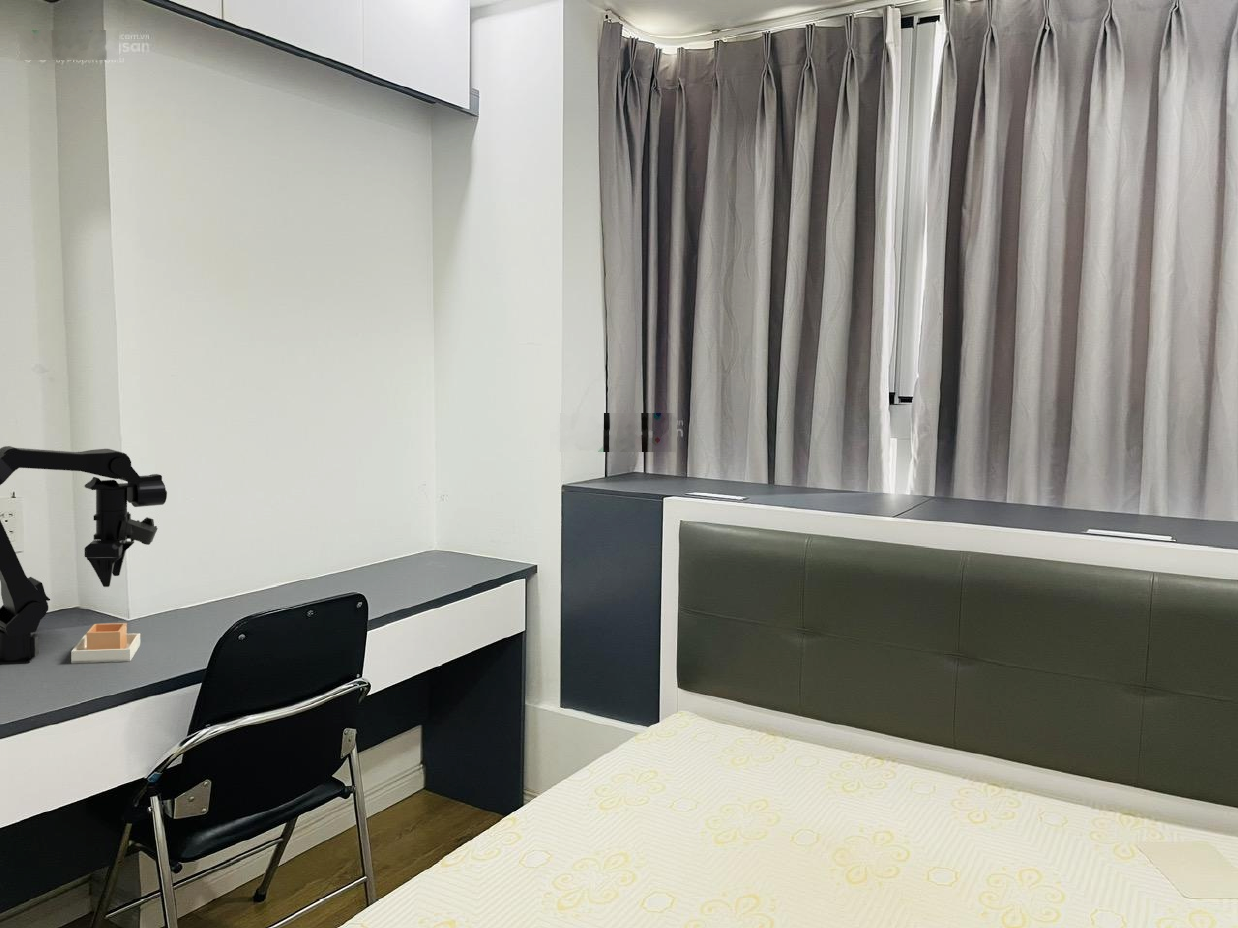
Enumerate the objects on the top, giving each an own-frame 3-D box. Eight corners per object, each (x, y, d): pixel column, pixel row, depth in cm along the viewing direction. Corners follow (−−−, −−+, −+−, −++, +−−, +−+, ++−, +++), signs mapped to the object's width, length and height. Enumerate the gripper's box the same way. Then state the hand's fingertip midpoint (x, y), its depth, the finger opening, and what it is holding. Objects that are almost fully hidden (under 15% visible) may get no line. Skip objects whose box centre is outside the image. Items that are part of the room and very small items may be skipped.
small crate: (86, 656, 181) (86, 632, 180) (94, 647, 186) (94, 623, 186) (120, 655, 183) (120, 631, 182) (126, 646, 188) (126, 623, 188)
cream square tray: (71, 663, 178) (71, 651, 178) (84, 646, 188) (84, 634, 188) (130, 661, 181) (130, 649, 181) (140, 644, 191) (140, 633, 191)
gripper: (145, 517, 183) (145, 592, 185) (161, 502, 201) (161, 570, 203) (83, 517, 180) (83, 593, 181) (105, 501, 197) (105, 570, 199)
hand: (111, 581), depth 191 cm, fingers open, 9 cm apart
